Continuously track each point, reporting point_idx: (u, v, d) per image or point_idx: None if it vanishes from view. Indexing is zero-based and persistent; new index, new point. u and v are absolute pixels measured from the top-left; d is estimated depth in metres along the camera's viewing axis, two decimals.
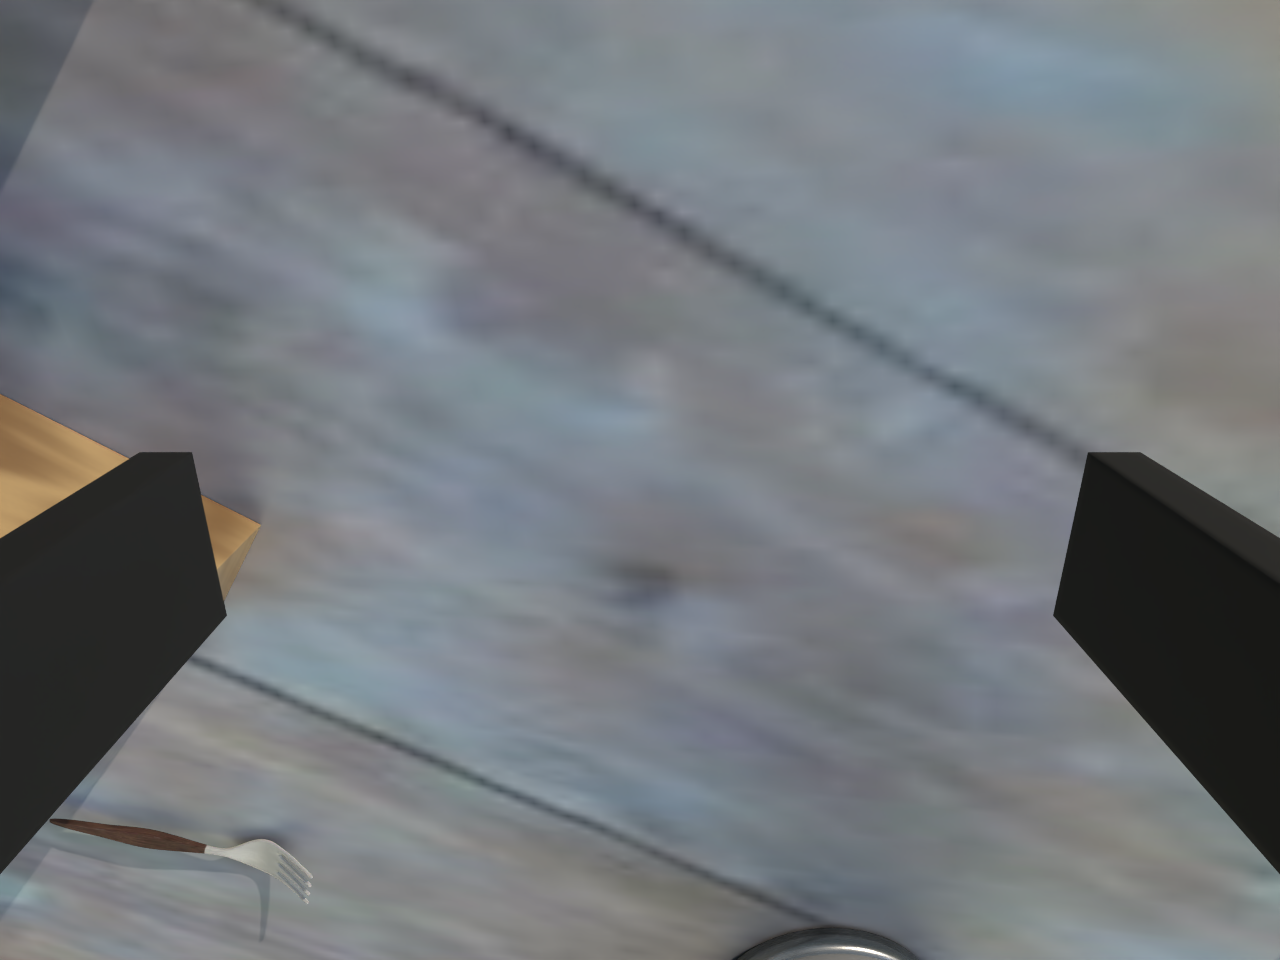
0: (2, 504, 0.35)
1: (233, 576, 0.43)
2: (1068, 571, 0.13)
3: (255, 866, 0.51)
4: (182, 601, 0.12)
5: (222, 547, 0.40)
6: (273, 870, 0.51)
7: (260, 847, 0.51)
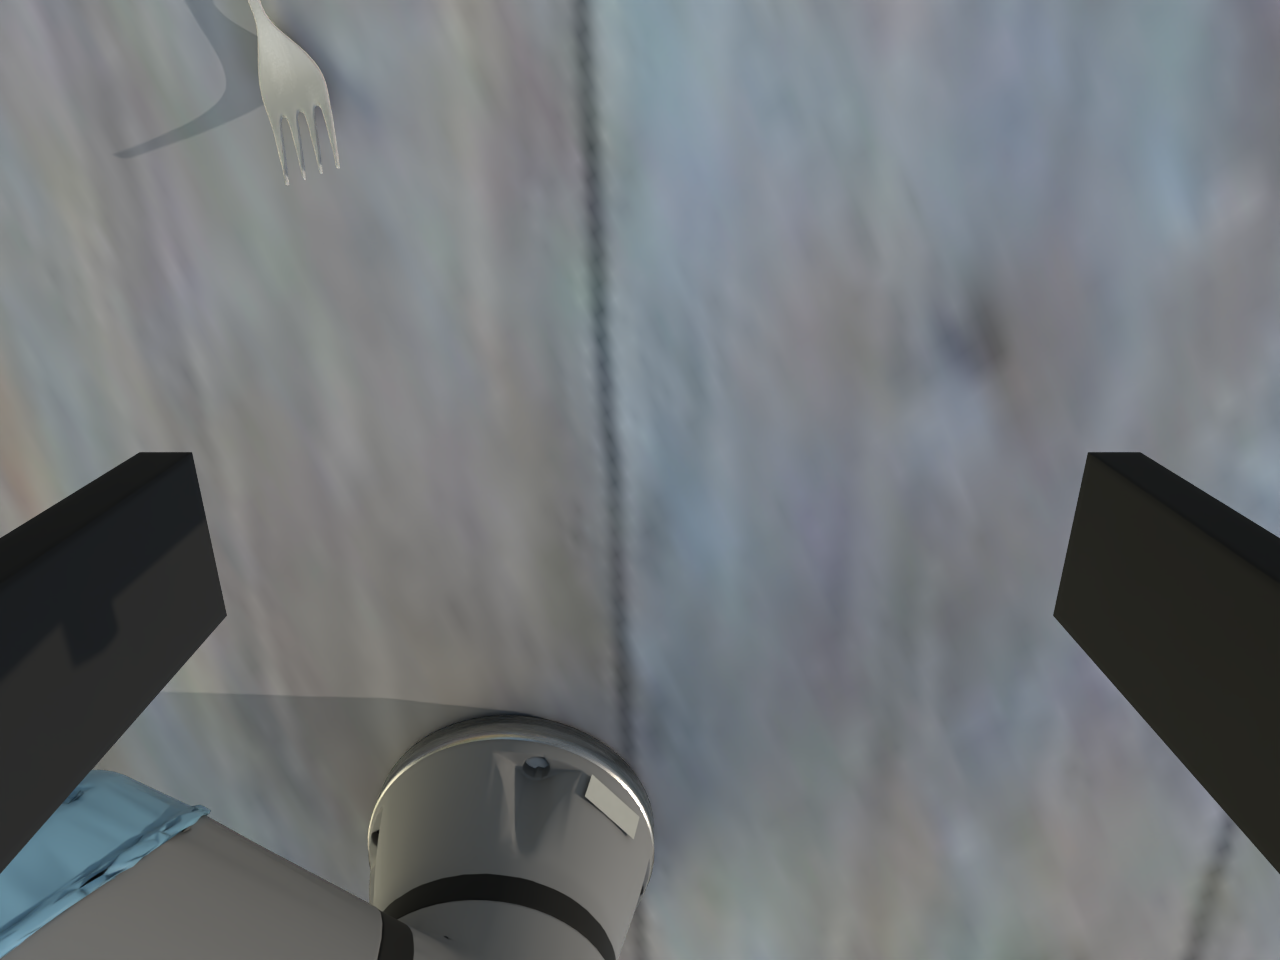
0: None
1: None
2: (1067, 571, 0.13)
3: (263, 79, 0.32)
4: (182, 601, 0.12)
5: None
6: (280, 109, 0.32)
7: (304, 70, 0.32)
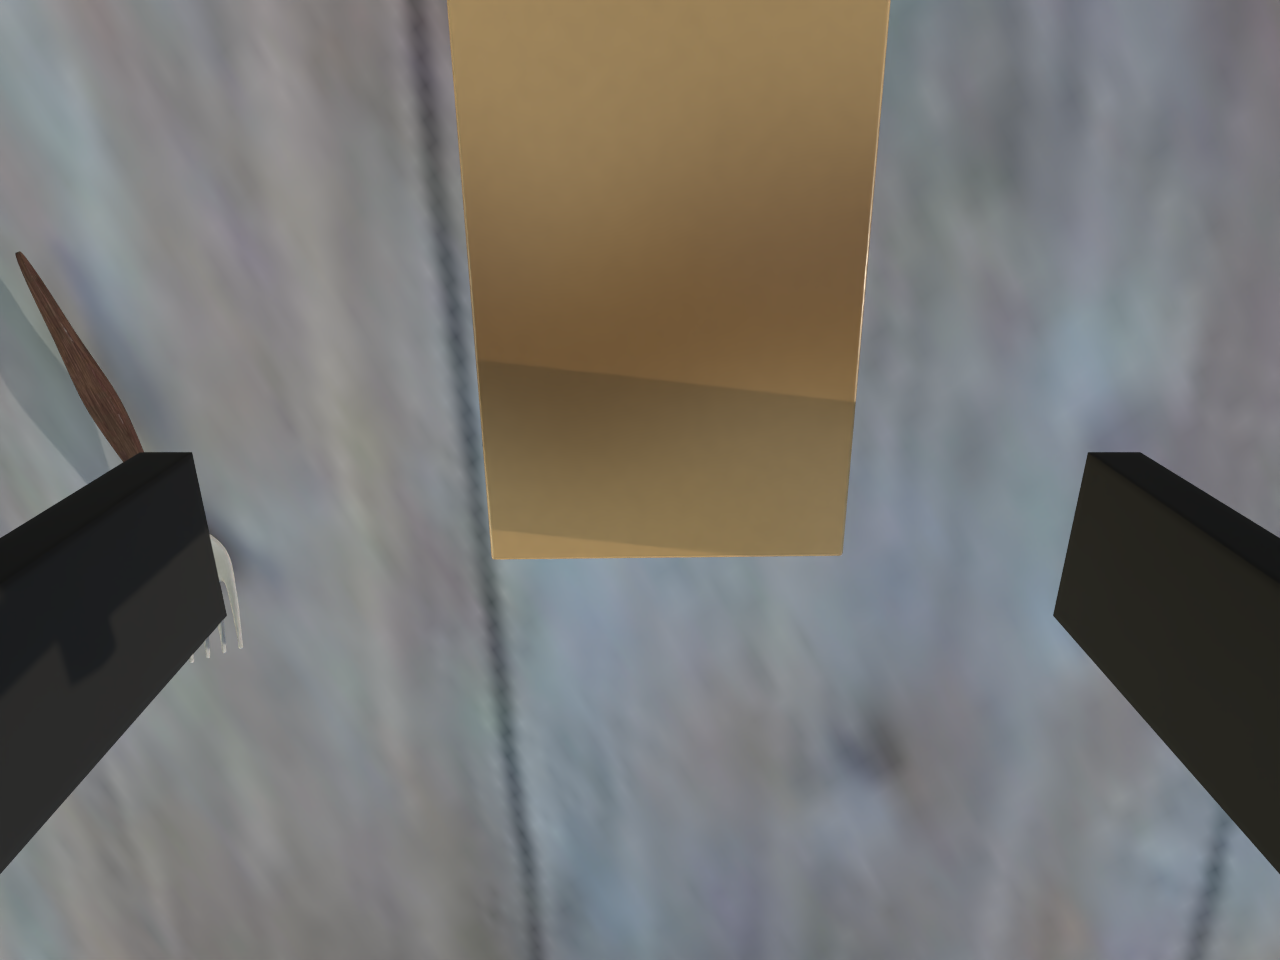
0: None
1: None
2: (1068, 572, 0.13)
3: None
4: (182, 601, 0.12)
5: None
6: None
7: None
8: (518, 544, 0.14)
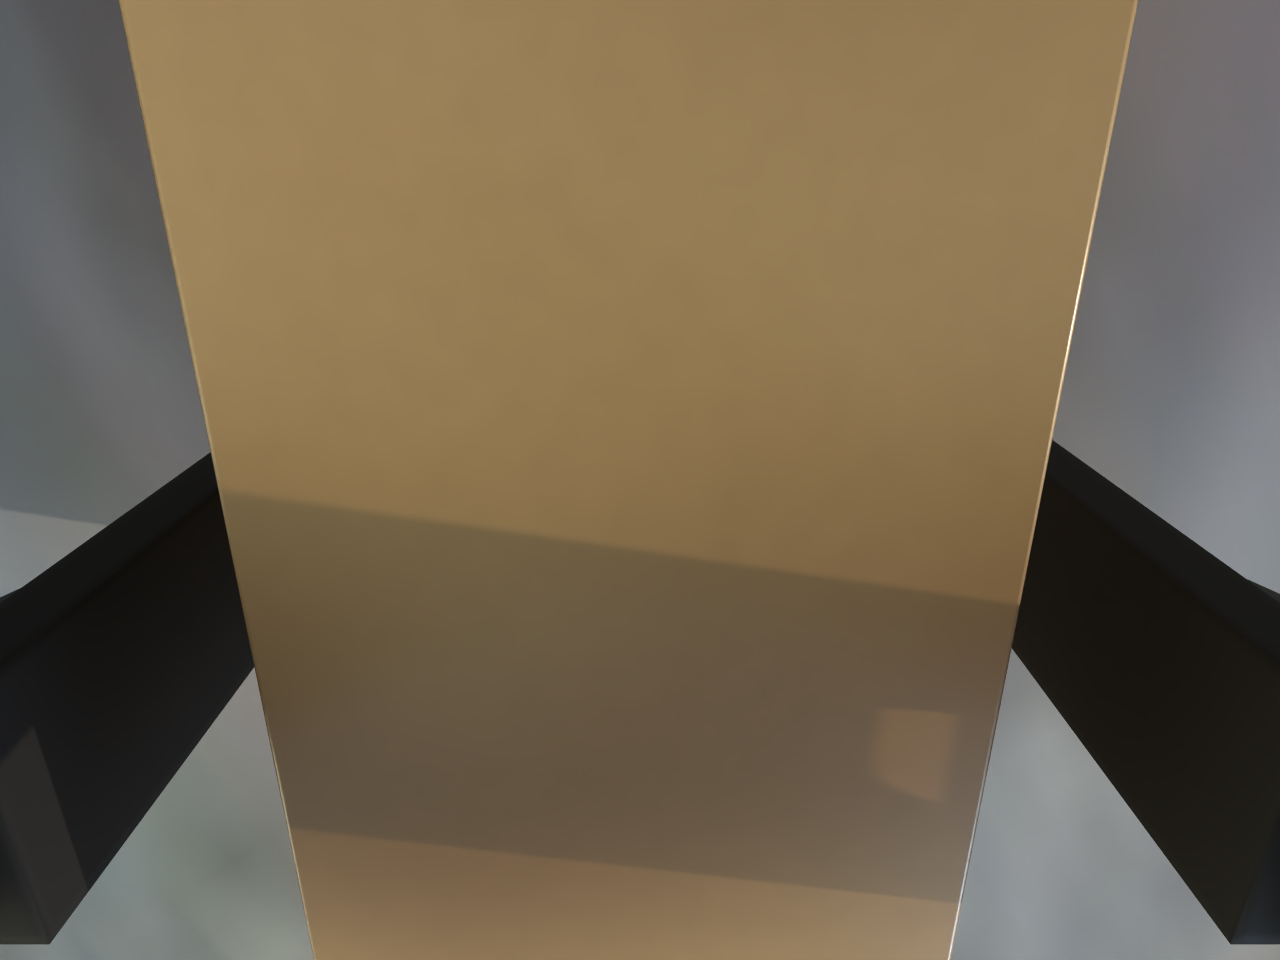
0: None
1: None
2: None
3: None
4: None
5: None
6: None
7: None
8: None
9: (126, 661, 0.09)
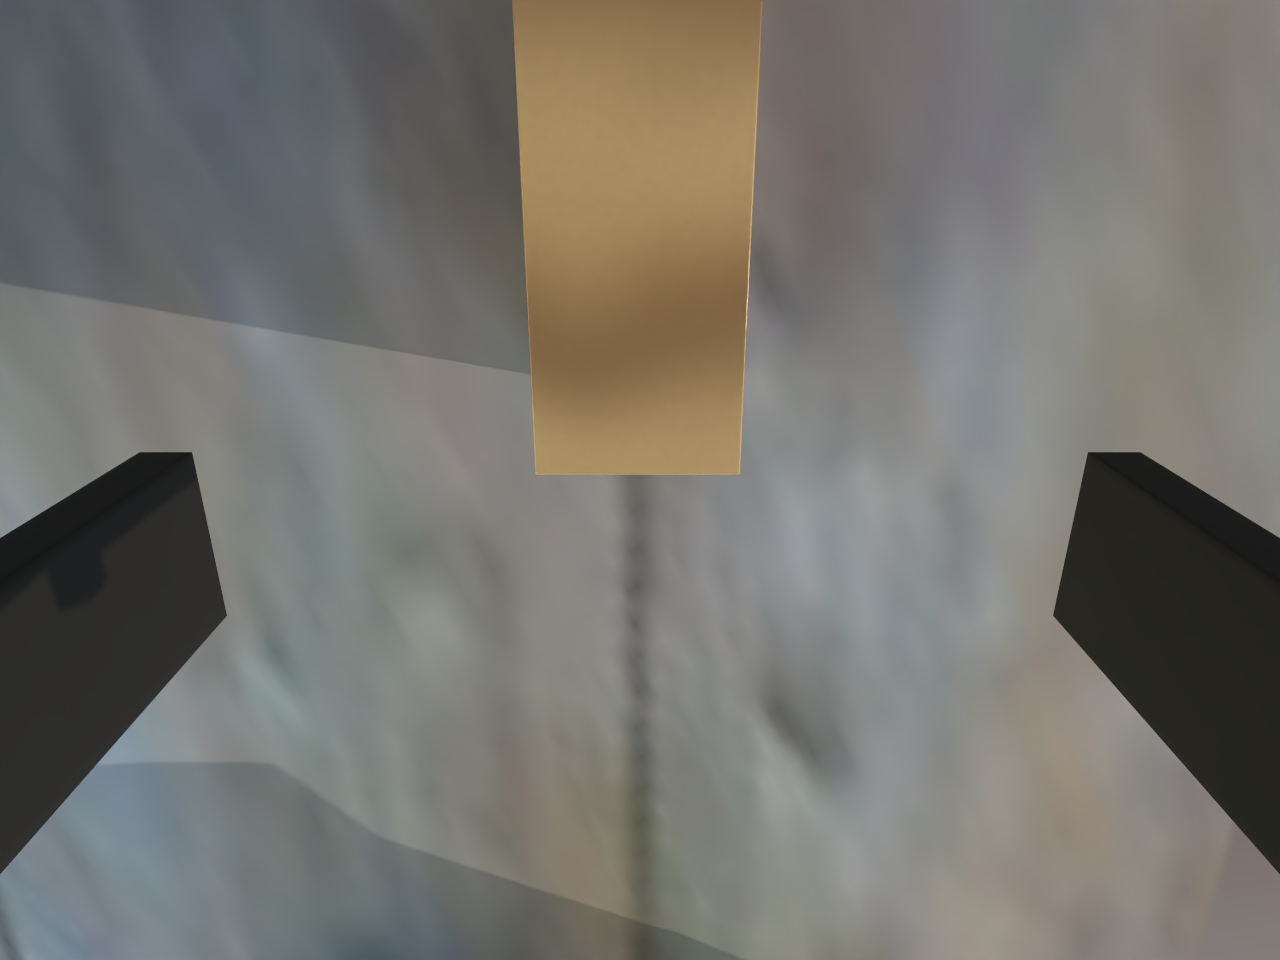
0: None
1: None
2: (1068, 571, 0.13)
3: None
4: (182, 601, 0.12)
5: None
6: None
7: None
8: (551, 465, 0.23)
9: None
